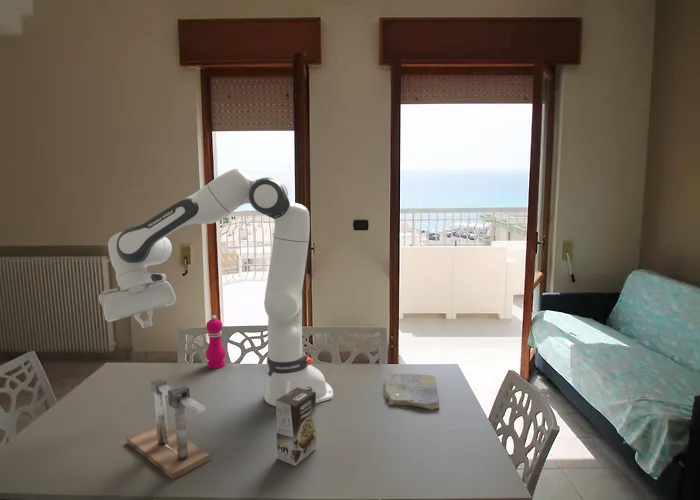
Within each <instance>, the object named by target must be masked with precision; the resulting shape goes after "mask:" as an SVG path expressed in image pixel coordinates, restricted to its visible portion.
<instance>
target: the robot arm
mask: <svg viewBox="0 0 700 500" xmlns="http://www.w3.org/2000/svg"><path fill="white" fill-rule="evenodd" d="M247 204H250V205H251V206H252V208H253V209H254V210H255V211H256V212H258V213H260V214H262V215H264V216H267V217H269V218H271V219H273V220H274V231H273V237H272V238H273V239H272V245H271V246H272V248H271V254H270V255H271V256H270V263H269V269H268V275H267V282H266V286H265V287H266V288H265V294H264V300H263V301H264V302H263V305H264V309H265V312H266V315H267V316H268V317H267V319H268V320H267V357H266V372H267V373H266V374H267V384H266V390H265V394H264V396H263V397H264V400H265V402H266V403H267V404H269V405H271V406H273V407H276V400H277V399H279V398H281V397H282V396H284V395H286V394H287V393H289V392H290V391H292V390H294V389H295V388H297V387H298V388H301V389H306V390H310V391H313V392H316V404H319V403H322V402H325V401H329V400H332V399H333V398H334V390H333V388H332V386H331V385H330V383H328V382H326V379H325V376H324V375H323V373H322V372H321V370H320V369H318V368H316V367H315V366H313V365H312V364H313V362H314V360H313V359H312V358H311V357H309V356H308V354H306V353H305V352H304V351H303V287H304V280H305V273H306V264H307V258H308V257H307V256H308V250H309V242H310V231H311V229H310V228H311V225H310V223H311V221H310V219H311V218H310V211H309V209H308V208H307V207H306V206H304V205H303V204H301V203H298V202H293V201H292V200H290V198H289V193H288V188H287V186H285V184H284V183H283V182H282V181H281V180H280V179H278V178H277V177H276V178H275V177H271V176H270V177H269V176H266V177H262V178H258V179H252V177H250V175H248V173H247V172H246V171H244V170H242V169H239V168H233V169H230V170H228V171H226V172H224V173H222V174H221V175H219V176H216V178H214V179H212V180H211V181H210V182H208V183H207V184H206V185H204V186H203V187H201V188H200V189H198V190H197V191H195V192H193V193H192V194H191V195H189V196H187V197H186V198H184V199H181V200H180V201H178V202H176V203H174V204H172V205H171V206H168V207H167V208H165V209H164V210H162V211H161V212H159V213H158V214H157V215H155V216H153V217H151V218H150V219H148V220H147V221H145V222H143V223H141V224H139V225H136V226H131V227H128V228H125V229H124V230H122V231H120V232H117V233H115V234H114V235H112V236H111V237H110V238H109V240H108V243H107V248H108V255H109V259H110V262H111V266H112V267H113V269H114V271H115V279H116V283H117V287H115V288H112V289H106V290H103V291H102V292H101V293H99V295H98V302H99V304H100V305H101V306H102V308H103V309H102V310H103V316H104V320H105V321H106V322H109V323H110V322H115V321H117V320H121V319H124V318H125V319H126V318H130V317H132V316H133V317H134V319H135V320H136V321H137V322H138V323H139V324H140V326H141V329H144V328H149V327H152V326H153V320H152V319H153V315H154V310H158V309H162V308H166V307H169V306H174V304H176V301H177V295H176V294H175V290H174V289H173V287H172V284H170V282H168V281H166V280H167V277H166V274H164V273H157V272H155V273H154V272H148V269H147V268H148V267H149V266H150V267H151V266H157V265H160V264H164V263H166V262H167V261H169V259H170V258H171V256H172V253H173V246H172V242H171V240H170V239H169V238H168V237H167V236H169V235H170V234H172V233H173V232H175V231H177V230H178V229H180V228H182V227H184V226H189V225H197V224H198V225H199V224H201V225H202V224H205V225H206V224H207V225H211V224H215V223H218V222H220V221H221V220H223V219H225V218H226V217H228V216H229V215H230V214H232V213H233V212H235V211H236V210H237V209H238V208H239V207H241V206H243V205H247ZM143 313H146V315H147V316H149V317H148V319H147V320H143V319H142V318H141V314H143Z"/></svg>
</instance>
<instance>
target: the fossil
mask: <svg viewBox="0 0 700 500" xmlns="http://www.w3.org/2000/svg"><path fill="white" fill-rule="evenodd" d="M384 382H385V383H384V400H383V402H384V405H387V406H389V405H390V406H394V405H395V406H396V405H397V406H398V405H399V406H414V407H417V408H422V409H426V410H430V411H431V410H436V409H439V408H440V399H439V394H438V388H437V380H436V377H435V376H433V375H430V374H429V375H427V374H410V373H409V374H405V373H404V374H403V373H399V374H398V373H397V374H396V373H386V374H385V381H384Z"/></svg>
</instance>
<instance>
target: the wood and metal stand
mask: <svg viewBox="0 0 700 500" xmlns="http://www.w3.org/2000/svg"><path fill="white" fill-rule="evenodd" d="M172 388H173V389H170V390H168V396H167V398H168V406H170V407H172V408H173V409H174V419H175V430H174V429H172V428H170V427H169V426H168V425H167V431H168V440H167V441H165V442H164V443H161V442H158V441H157V427H156V425H154V426H151V427H149V428H147V429H144V430H142V431H140V432H137V433H135V434H133V435H131V436H127V438H126V441H127V444H128V445H129V446H131V447H132V448H133V449H134V450H136V451H137V452H138V453H139V454H140V455H141V456H143V457H144V458H145V459H147V460H148V461H149V462H151V463H152V464H153V465H154V466H155V467H157V468H158V469H159V470H160V471H161V472H162V473H164V474H165V475H167V476H168V477H169V478H170V479H171V480H175V479H177V478H178V477H181V476H183V475H184V474H186V473H188V472H190V471H192V470H193V469H195V468H197V467H199V466H201V465H203V464H205V463H207V462H209V461H210V460H211V459H210V454H209V453H208V452H206V451H205V450H204V449H202V448H200V446H198V445H196V444H194V443H193V442H192V441H190V440H189V439H188V436H187V432H188V431H187V420H186V418H187V417H186V406H184V405H182V404H181V403H179V402H177V395H179V394H182V393H183V394H184V395H186V396H188V397H190V398H191V393H190V391H191V390H190V388H189V387H188V386H186V385H184V384H181V385H179V386H177V387H172Z"/></svg>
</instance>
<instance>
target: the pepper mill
mask: <svg viewBox="0 0 700 500" xmlns="http://www.w3.org/2000/svg"><path fill="white" fill-rule="evenodd" d="M205 327H206V331H208V332H207V336H208V339H209V344H208V346H207V348H206V349H207V350H206V353H205V358H206V359H207V360H208V361H207V367H208V368H209V369H213V370H215V369H220V368H222V367H224V366H225V364H226V362H225V357H226V350H225V347H224V345H223V344H222V340H221V339H222V338H221V336H222V334H223V333H222V329H223V322H222V320H220V319H218V318H217V316H216V315H215V314H214V315H212V316H211V319H210V320H208V321H207V322H206V325H205Z"/></svg>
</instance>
